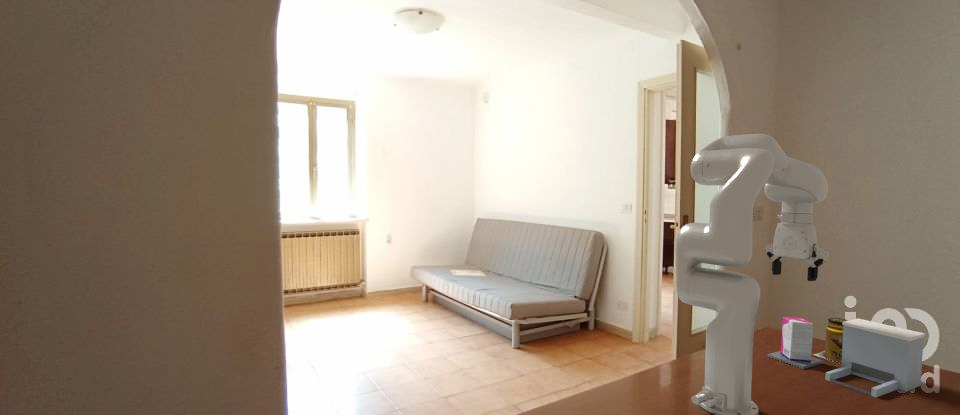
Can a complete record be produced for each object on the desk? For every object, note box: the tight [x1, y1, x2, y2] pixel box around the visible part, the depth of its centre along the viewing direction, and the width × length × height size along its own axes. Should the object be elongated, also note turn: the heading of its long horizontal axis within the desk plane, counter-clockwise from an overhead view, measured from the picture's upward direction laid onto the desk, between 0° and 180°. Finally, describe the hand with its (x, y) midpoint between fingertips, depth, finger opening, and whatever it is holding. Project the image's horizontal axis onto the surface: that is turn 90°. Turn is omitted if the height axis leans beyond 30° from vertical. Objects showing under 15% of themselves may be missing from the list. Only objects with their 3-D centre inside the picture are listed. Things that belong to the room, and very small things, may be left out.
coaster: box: [766, 350, 824, 370], centre depth 132 cm, size 10×10×1 cm
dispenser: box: [824, 318, 926, 398], centre depth 118 cm, size 19×14×14 cm
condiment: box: [812, 317, 849, 363], centre depth 134 cm, size 7×8×12 cm
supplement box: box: [780, 316, 814, 362], centre depth 132 cm, size 6×6×12 cm
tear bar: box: [829, 379, 872, 397], centre depth 114 cm, size 1×9×1 cm, turn 26°
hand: (793, 277), depth 131 cm, fingers open, 9 cm apart
